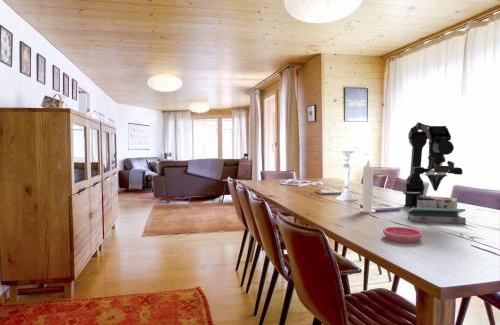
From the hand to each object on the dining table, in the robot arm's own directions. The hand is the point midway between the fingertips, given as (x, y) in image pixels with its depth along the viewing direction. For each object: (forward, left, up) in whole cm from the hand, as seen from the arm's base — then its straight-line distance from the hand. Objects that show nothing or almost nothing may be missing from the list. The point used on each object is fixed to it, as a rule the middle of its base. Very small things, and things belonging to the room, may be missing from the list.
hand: (435, 190), depth 143 cm
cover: (+1, -1, -9) cm, 9 cm away
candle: (-28, -6, -13) cm, 32 cm away
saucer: (+5, -39, -13) cm, 41 cm away
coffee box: (+1, +23, -10) cm, 25 cm away
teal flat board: (+1, -1, -13) cm, 13 cm away
